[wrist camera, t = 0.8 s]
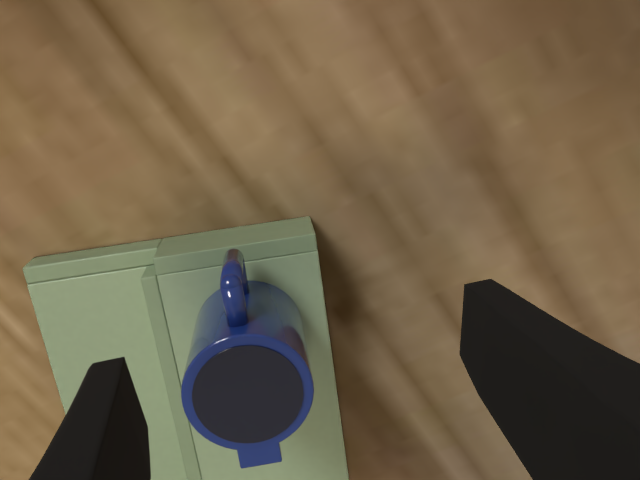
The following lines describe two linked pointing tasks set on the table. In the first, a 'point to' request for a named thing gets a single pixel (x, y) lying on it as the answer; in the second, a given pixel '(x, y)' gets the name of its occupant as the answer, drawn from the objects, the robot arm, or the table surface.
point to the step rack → (186, 337)
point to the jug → (247, 367)
